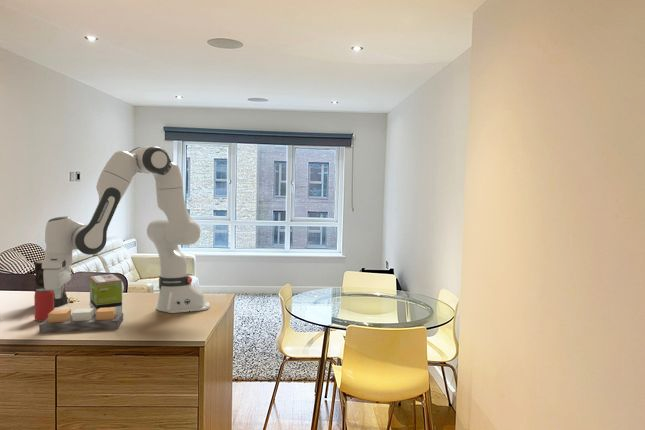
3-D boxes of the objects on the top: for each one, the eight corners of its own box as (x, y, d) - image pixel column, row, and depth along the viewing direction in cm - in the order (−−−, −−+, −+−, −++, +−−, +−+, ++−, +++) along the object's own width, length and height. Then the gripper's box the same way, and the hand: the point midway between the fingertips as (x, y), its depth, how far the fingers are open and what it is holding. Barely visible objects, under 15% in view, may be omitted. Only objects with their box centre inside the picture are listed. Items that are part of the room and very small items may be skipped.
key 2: (116, 315, 181) (116, 307, 180) (113, 320, 175) (113, 311, 175) (99, 316, 179) (99, 307, 179) (96, 320, 173) (96, 311, 173)
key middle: (93, 316, 179) (93, 308, 178) (90, 321, 173) (90, 312, 173) (76, 317, 177) (76, 308, 177) (72, 322, 171) (72, 312, 171)
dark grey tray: (123, 320, 184) (123, 312, 184) (117, 328, 172) (117, 320, 172) (50, 323, 178) (50, 315, 177) (39, 333, 166) (39, 324, 166)
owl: (49, 310, 197) (48, 263, 196) (22, 308, 199) (21, 262, 198) (69, 303, 210) (69, 259, 209) (44, 301, 211) (43, 258, 210)
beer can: (34, 322, 179) (33, 291, 178) (35, 318, 185) (35, 288, 184) (53, 320, 182) (53, 290, 181) (54, 316, 188) (54, 286, 187)
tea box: (89, 310, 198) (89, 275, 198) (114, 306, 204) (114, 273, 204) (96, 318, 186) (96, 281, 186) (122, 314, 192) (122, 279, 192)
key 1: (70, 317, 177) (70, 309, 176) (66, 322, 171) (66, 313, 171) (53, 318, 175) (53, 309, 175) (48, 323, 169) (48, 313, 169)
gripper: (57, 257, 181) (57, 292, 181) (39, 264, 161) (39, 304, 162) (75, 257, 182) (75, 291, 183) (60, 264, 163) (59, 303, 163)
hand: (58, 297), depth 172 cm, fingers closed
